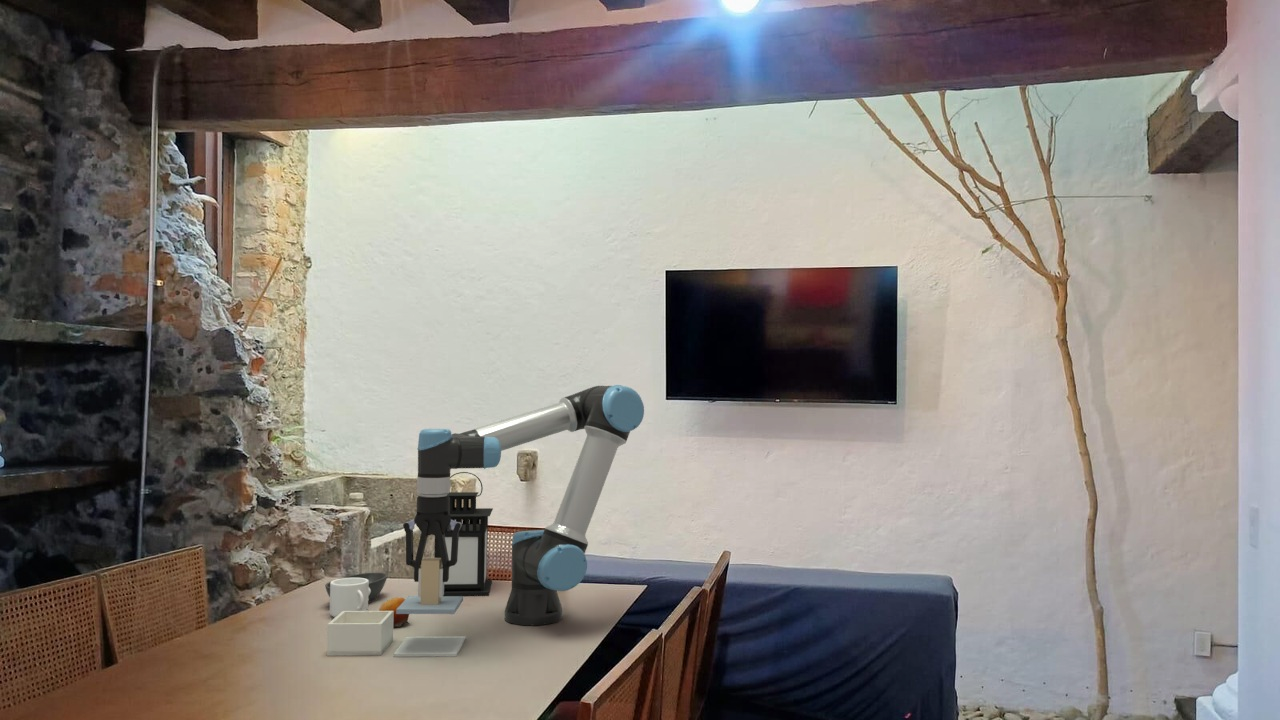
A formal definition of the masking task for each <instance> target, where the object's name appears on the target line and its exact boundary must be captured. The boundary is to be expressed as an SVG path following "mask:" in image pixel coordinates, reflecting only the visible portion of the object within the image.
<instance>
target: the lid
mask: <svg viewBox="0 0 1280 720" xmlns="http://www.w3.org/2000/svg"><path fill="white" fill-rule="evenodd" d="M441 567H442V560H441V558H434V557H424V558H422V563H421V597H418V595H412V596H410V595H408V596H407V597H406V598H404V599H405V601H404V602H403V603H402V604H401V605H400V606H399V607H398V608H397V609H396V614H409V615H455V614H456V613H457V611H458V609H459V608H460V606H461V605H462V602H464V596H442V597H439V569H440V568H441Z"/></svg>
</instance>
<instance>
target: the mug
mask: <svg viewBox="0 0 1280 720" xmlns="http://www.w3.org/2000/svg"><path fill="white" fill-rule="evenodd" d="M340 578H341V579H339V578H336V579H332V580H331V581H329V582H330V597H329V614H330V616H331V617H333V618H335V617H336V616H337V615H339V614H340V613H341V612H342V611H369V603H368V600H369V599H368V596H369V595H370V593H371V590H370V588H369V580H368V579H365V578H343V577H340Z"/></svg>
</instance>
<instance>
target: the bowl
mask: <svg viewBox="0 0 1280 720" xmlns="http://www.w3.org/2000/svg"><path fill="white" fill-rule="evenodd" d="M341 578H365V579H368V580H369V588H370V590H371V593H370V595H369V596H368V599H369V600H368V604H369V603H372V602H373V601H375V600H376V599H377V598H378V597H379V595H380V593H382V590H383V588H384V586H385V584H386V582H387V578H388V574H387V573H386V572H365V573H364V572H362V573H357V574H352V575H348V576H342V577H340V578H338V579H341ZM330 582H331V581H328V582H326V584H324V585H325V590H326V591H325V592H326V593H327V595H328V597H329V598H330Z"/></svg>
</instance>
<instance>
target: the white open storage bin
mask: <svg viewBox="0 0 1280 720" xmlns="http://www.w3.org/2000/svg"><path fill="white" fill-rule="evenodd" d="M393 620H394V611H379V610H368V611H342V612H341V613H340V614H339V615H337V616H336V617H333V619H332V620H330V621H329V622H328V623H327V624H326V625H327V628H326V656H328V657H335V656H339V657H340V656H342V657H344V656H346V657H347V656H350V657H351V656H355V657H358V656H382V655H383V654H384V653H385V651H387V648H389V646H390V645H391V643H392V642H394V627H393Z"/></svg>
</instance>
